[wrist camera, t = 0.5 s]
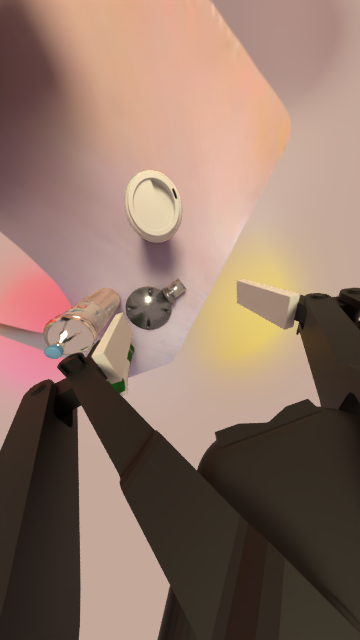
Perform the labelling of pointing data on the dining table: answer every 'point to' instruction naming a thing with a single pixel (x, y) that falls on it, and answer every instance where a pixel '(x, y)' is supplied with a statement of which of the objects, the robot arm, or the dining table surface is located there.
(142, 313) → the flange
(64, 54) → the dining table surface
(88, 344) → the water bottle
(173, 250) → the dining table surface
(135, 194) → the coffee cup
